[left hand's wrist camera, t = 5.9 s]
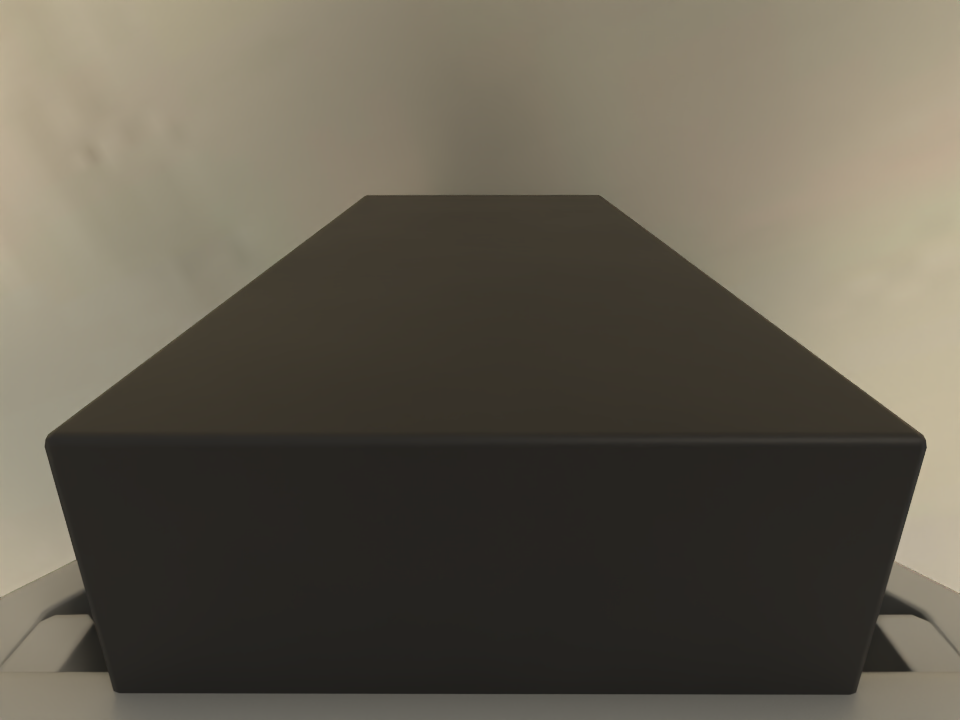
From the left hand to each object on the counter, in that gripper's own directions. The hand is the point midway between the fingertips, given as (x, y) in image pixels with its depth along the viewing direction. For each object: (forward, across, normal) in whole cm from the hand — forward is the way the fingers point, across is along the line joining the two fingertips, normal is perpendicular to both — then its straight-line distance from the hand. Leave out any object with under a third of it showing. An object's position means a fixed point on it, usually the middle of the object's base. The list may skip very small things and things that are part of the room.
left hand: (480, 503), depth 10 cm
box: (+7, 0, +9) cm, 12 cm away
